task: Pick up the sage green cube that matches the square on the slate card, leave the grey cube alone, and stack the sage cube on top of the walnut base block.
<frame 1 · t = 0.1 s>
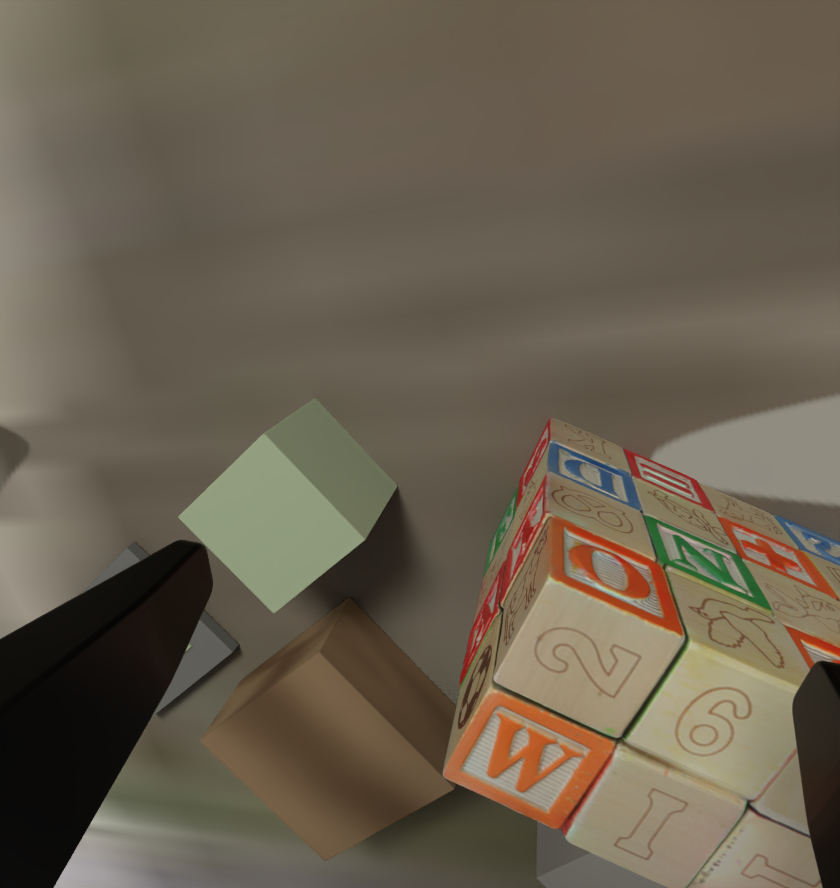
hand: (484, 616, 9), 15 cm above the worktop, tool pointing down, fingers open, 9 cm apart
stack of blocks: (764, 586, 25), on the worktop
walnut base block: (350, 698, 30), on the worktop
slate card: (146, 630, 31), on the worktop
sage cube: (317, 477, 27), on the worktop
grey cube: (615, 789, 29), on the worktop
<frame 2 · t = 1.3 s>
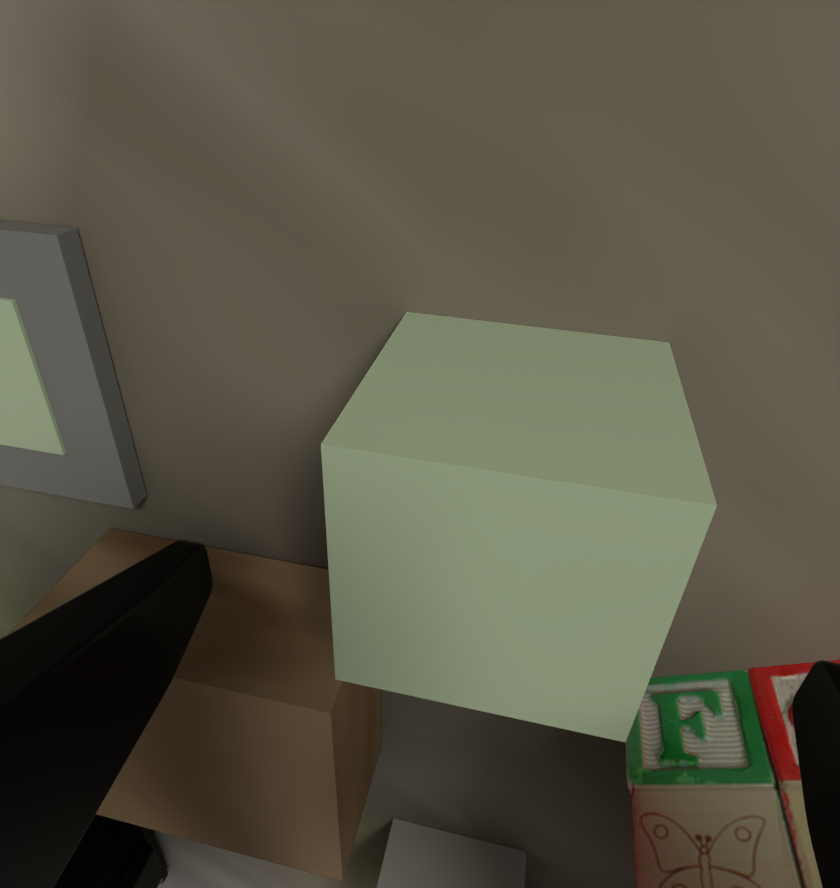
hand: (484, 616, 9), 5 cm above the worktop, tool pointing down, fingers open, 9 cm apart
stack of blocks: (800, 873, 20), on the worktop
walnut base block: (256, 647, 19), on the worktop
sage cube: (517, 434, 13), on the worktop
grey cube: (454, 863, 24), on the worktop
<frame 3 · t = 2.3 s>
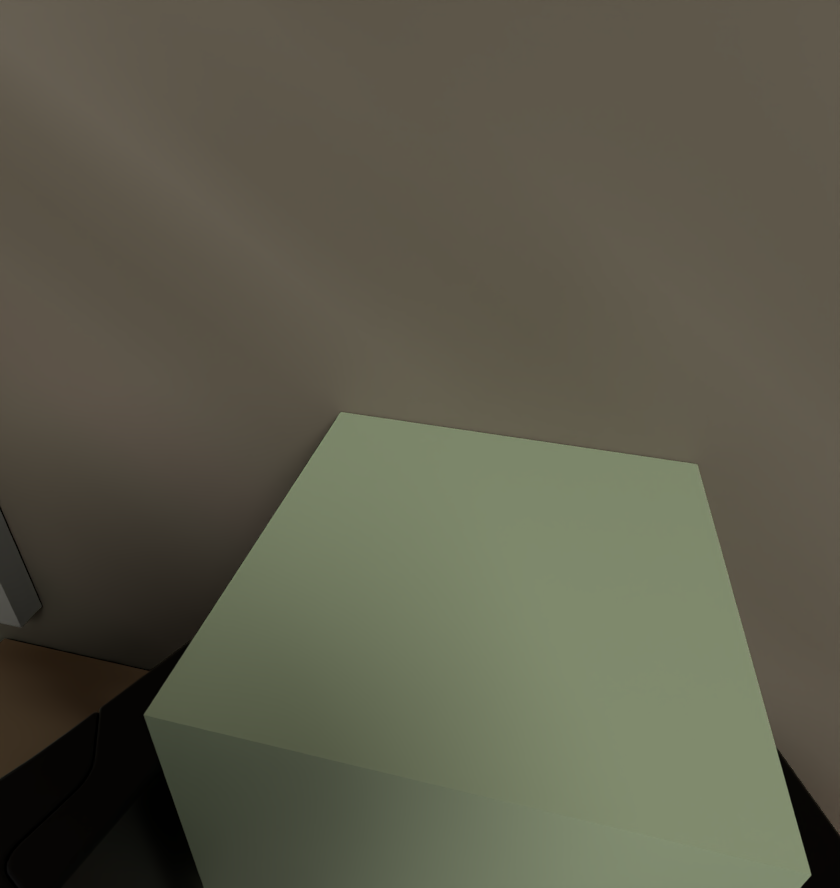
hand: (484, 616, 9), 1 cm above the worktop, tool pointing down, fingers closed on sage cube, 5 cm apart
walnut base block: (189, 770, 16), on the worktop
sage cube: (492, 566, 10), on the worktop, touching gripper
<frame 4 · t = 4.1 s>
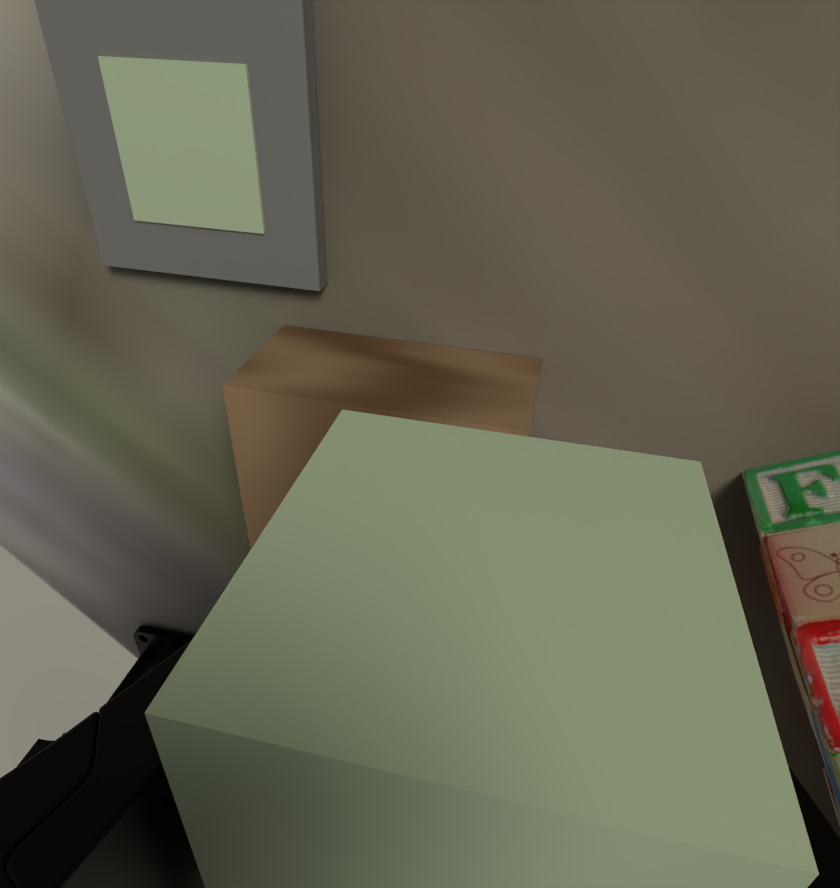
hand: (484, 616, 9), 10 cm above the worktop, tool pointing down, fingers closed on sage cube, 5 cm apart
walnut base block: (405, 450, 21), on the worktop
slate card: (198, 145, 17), on the worktop
sage cube: (494, 564, 10), point 9 cm above the worktop, touching gripper
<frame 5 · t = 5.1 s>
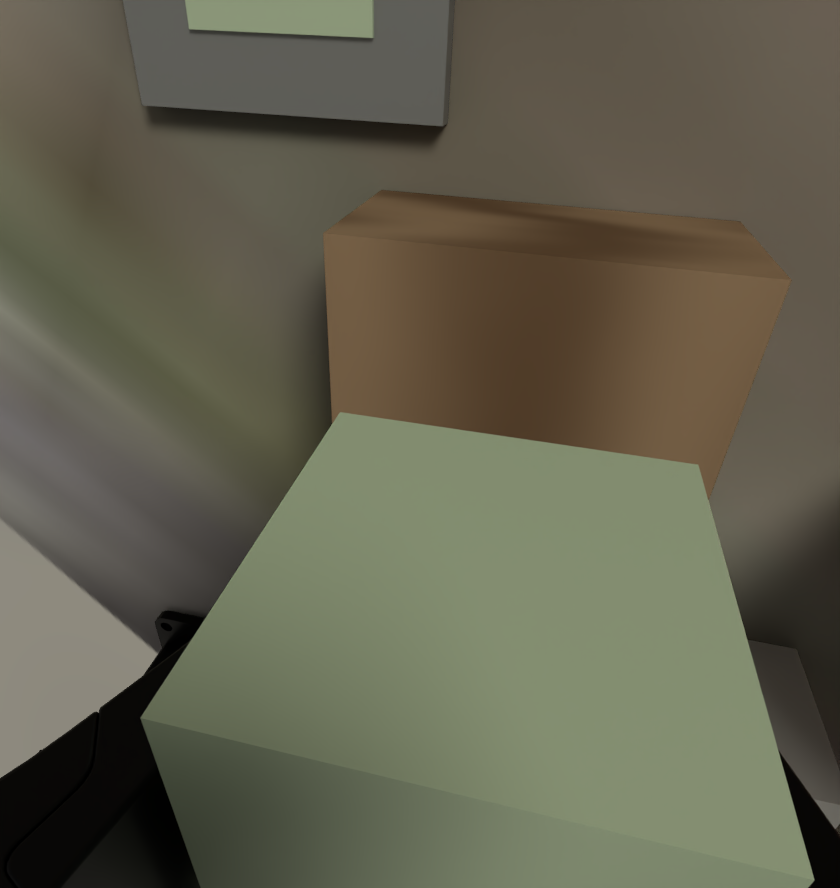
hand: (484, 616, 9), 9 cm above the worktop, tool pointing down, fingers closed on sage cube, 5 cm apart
walnut base block: (528, 365, 16), on the worktop
sage cube: (492, 566, 10), point 8 cm above the worktop, touching gripper
grey cube: (690, 679, 21), on the worktop
when the fingers open (6 cm above the worktop, at t = 6.0 s): sage cube drops 1 cm, resting on walnut base block.
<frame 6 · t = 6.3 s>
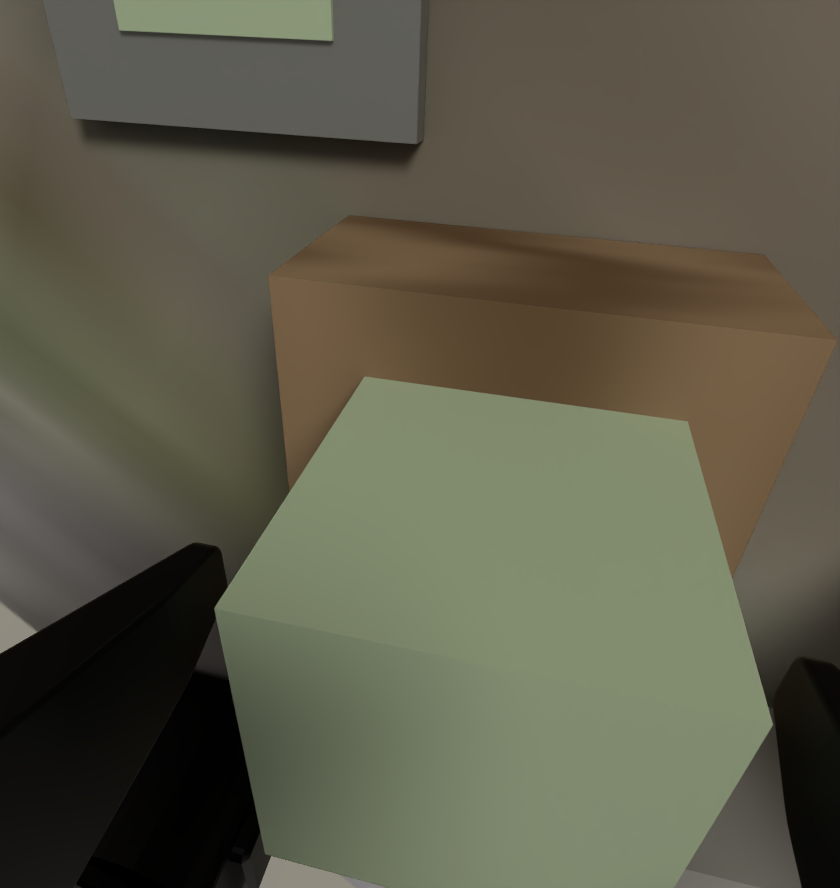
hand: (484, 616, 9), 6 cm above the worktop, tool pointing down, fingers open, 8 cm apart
walnut base block: (519, 411, 14), on the worktop
sage cube: (501, 521, 11), point 4 cm above the worktop, touching walnut base block
grey cube: (699, 744, 19), on the worktop
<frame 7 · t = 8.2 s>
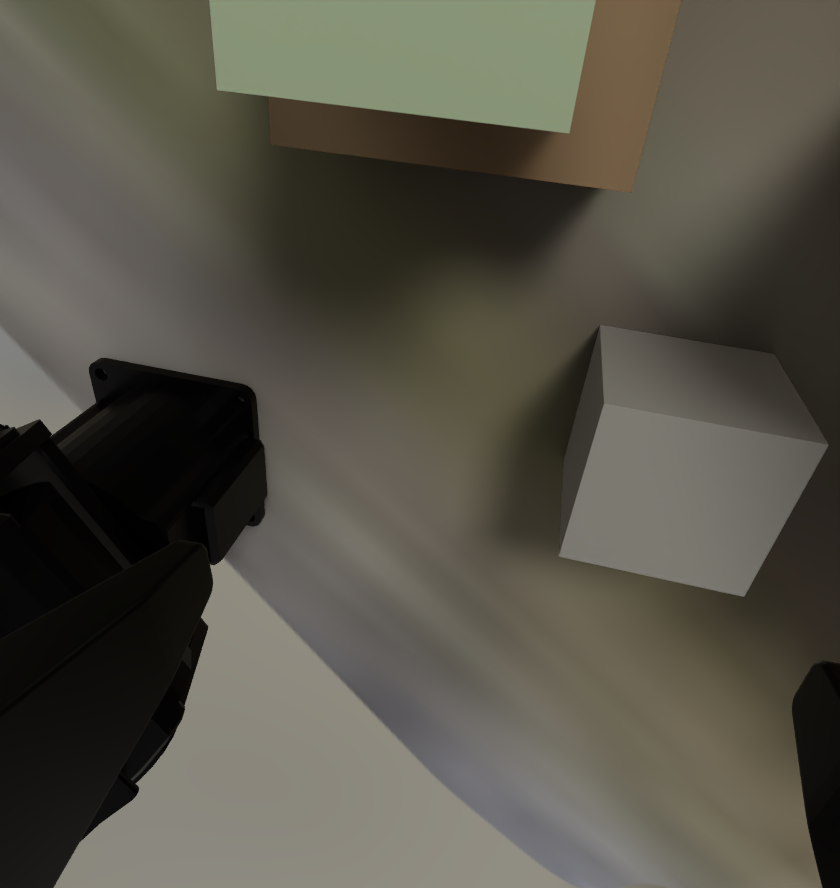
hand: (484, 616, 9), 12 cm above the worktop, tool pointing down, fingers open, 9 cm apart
grey cube: (659, 410, 20), on the worktop
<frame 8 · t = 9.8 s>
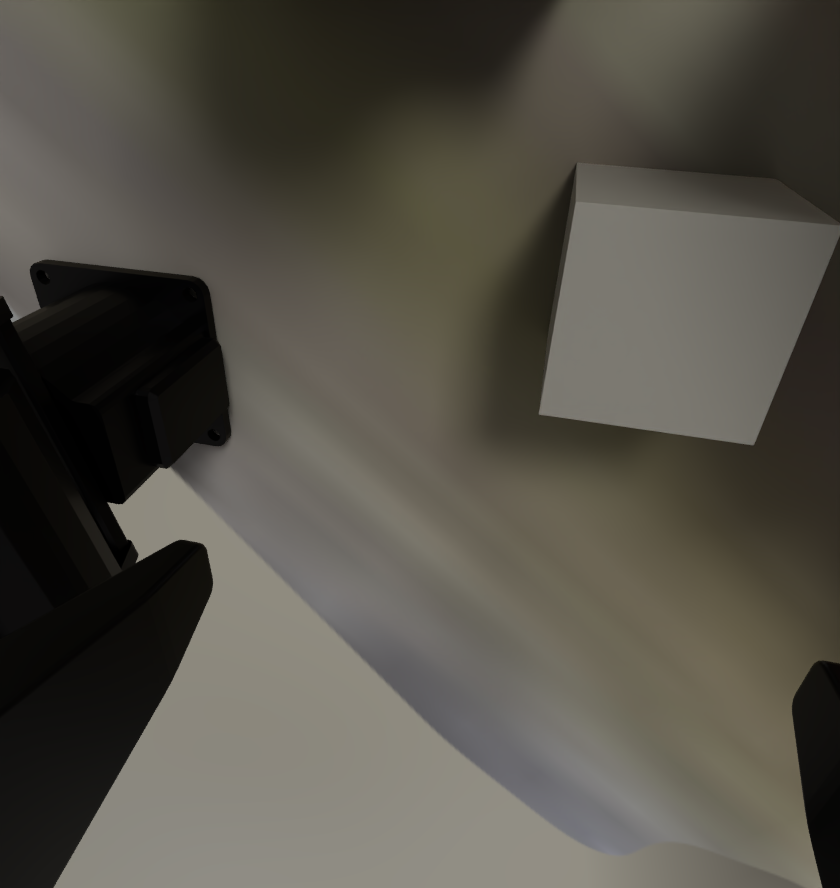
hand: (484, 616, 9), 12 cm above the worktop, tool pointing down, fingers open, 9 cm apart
grey cube: (650, 264, 18), on the worktop
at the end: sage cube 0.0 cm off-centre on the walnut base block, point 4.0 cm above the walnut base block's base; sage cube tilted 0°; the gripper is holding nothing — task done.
